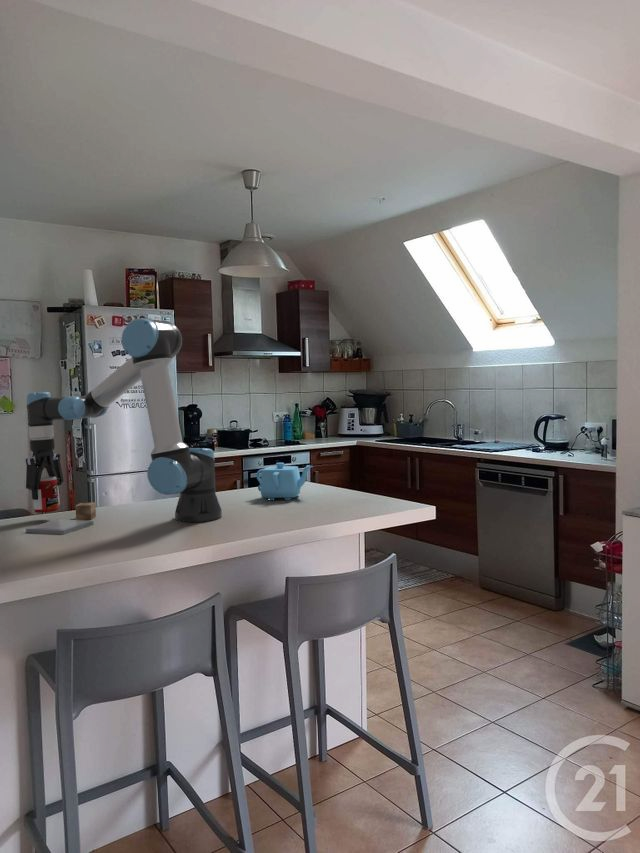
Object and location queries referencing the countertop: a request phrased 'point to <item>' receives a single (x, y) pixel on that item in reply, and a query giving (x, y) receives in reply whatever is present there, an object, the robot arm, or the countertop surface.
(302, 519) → the countertop surface
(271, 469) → the teapot
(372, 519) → the countertop surface
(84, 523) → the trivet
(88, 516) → the walnut block
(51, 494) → the canned food
